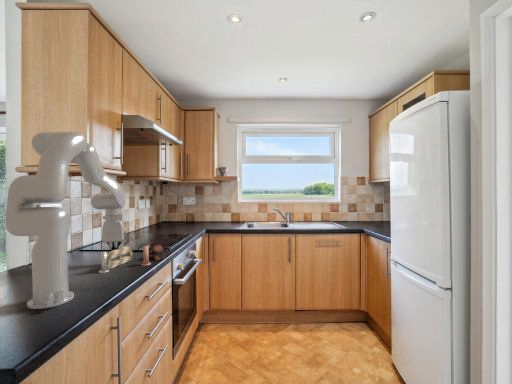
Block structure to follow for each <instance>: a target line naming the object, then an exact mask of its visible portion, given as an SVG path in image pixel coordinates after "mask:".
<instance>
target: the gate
mask: <svg viewBox="0 0 512 384" xmlns="http://www.w3.org/2000/svg"><path fill="white" fill-rule="evenodd" d="M125 254H127V255H126V256H124V257H122V255H125ZM114 258H117V259H116V260H114V261H112V259H114ZM132 260H133V244H128V245H126V246H121V247H119V249H116V250H113V251H111V250H110V251H108V252H107V270H111V269H114V268H117V267H118V266H121V265H123V264H125V263H127V262H130V261H132Z"/></svg>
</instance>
